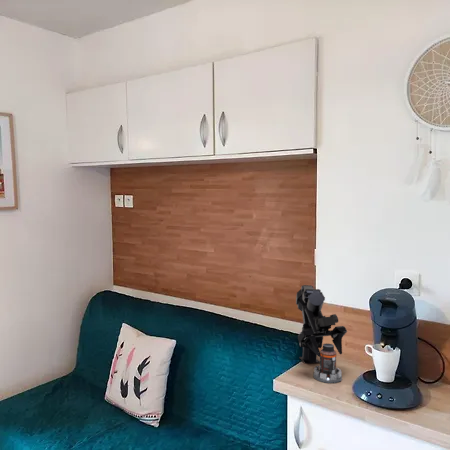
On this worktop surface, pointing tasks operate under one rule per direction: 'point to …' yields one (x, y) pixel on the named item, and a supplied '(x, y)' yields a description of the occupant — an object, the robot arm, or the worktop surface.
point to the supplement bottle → (328, 359)
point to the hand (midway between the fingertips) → (330, 355)
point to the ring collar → (323, 376)
